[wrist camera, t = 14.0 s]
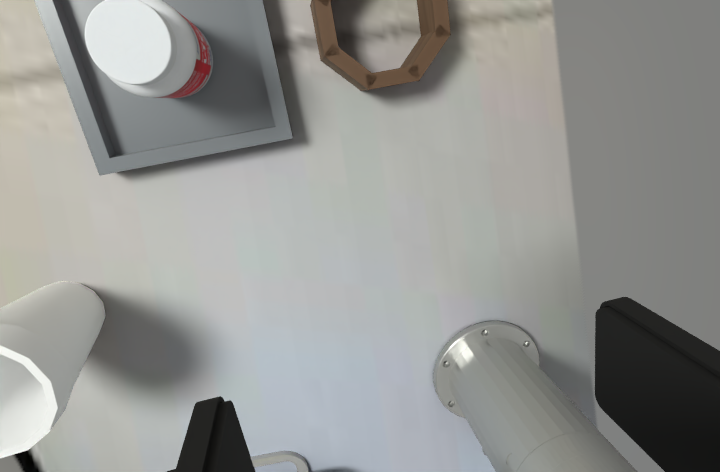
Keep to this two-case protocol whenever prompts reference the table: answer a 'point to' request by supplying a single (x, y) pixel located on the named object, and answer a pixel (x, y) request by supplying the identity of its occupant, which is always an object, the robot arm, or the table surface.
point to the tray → (175, 115)
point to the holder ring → (412, 69)
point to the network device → (281, 459)
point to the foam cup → (43, 358)
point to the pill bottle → (148, 48)
